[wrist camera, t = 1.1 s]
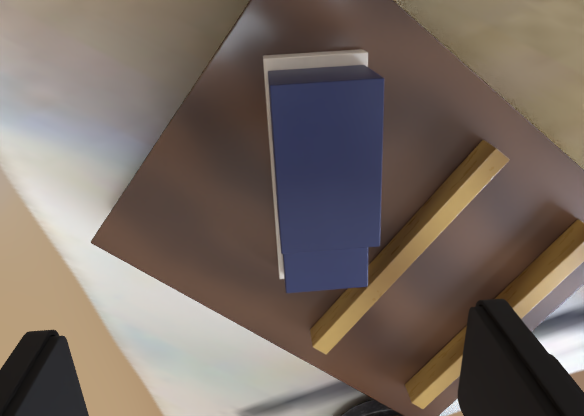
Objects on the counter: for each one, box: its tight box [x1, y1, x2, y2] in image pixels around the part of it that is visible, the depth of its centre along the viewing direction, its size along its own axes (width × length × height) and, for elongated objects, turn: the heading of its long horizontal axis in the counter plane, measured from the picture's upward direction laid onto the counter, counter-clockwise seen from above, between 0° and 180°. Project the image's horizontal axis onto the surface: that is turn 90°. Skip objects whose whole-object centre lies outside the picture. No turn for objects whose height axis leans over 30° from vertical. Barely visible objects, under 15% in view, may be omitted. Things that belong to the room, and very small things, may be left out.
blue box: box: [263, 49, 384, 293], centre depth 22 cm, size 11×4×5 cm, turn 3°
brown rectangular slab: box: [91, 0, 584, 416], centre depth 27 cm, size 18×24×6 cm
